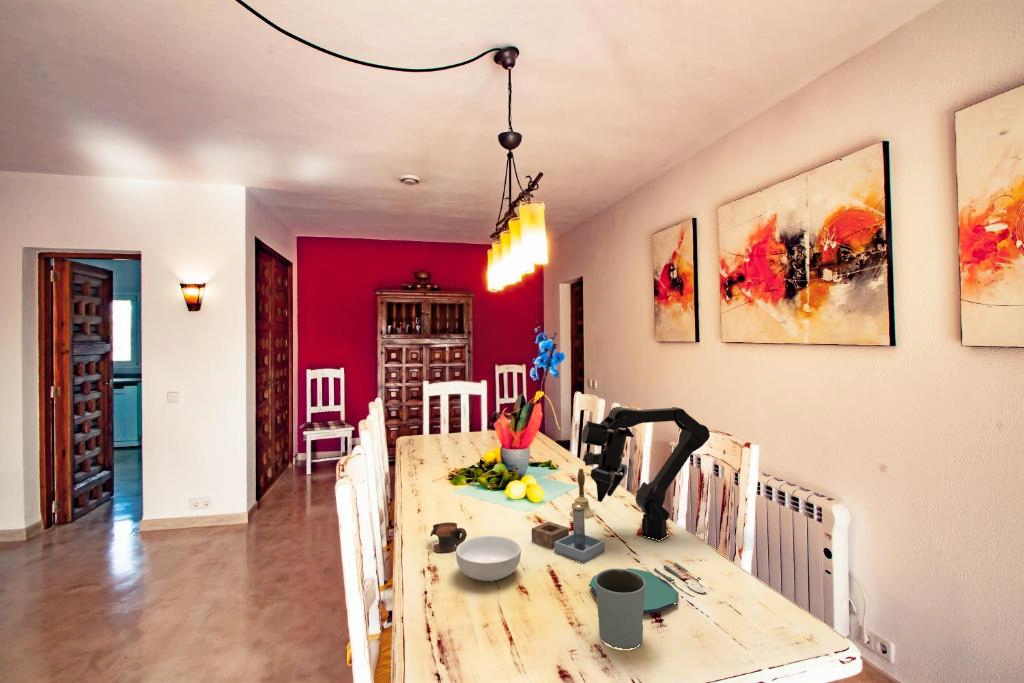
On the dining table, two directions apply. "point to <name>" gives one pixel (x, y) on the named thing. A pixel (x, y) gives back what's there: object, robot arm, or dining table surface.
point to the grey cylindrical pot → (620, 607)
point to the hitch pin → (579, 526)
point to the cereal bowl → (488, 557)
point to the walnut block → (548, 534)
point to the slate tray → (568, 550)
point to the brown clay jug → (448, 536)
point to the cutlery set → (654, 590)
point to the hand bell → (582, 496)
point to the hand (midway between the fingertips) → (604, 498)
